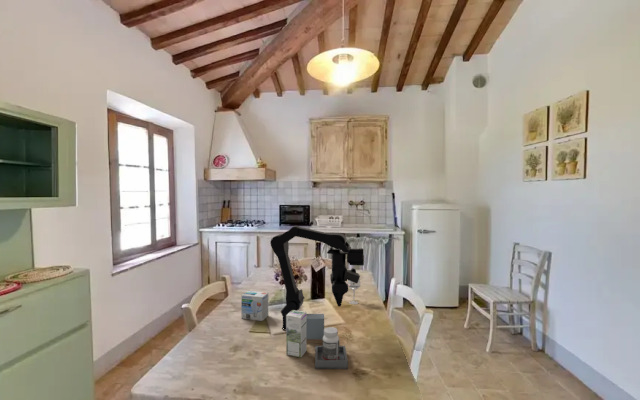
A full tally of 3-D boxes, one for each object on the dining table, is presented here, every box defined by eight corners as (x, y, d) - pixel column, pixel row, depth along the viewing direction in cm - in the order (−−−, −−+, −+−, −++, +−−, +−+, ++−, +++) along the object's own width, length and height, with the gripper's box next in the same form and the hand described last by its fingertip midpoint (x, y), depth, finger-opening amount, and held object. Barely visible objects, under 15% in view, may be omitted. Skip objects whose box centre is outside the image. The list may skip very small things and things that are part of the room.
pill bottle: (329, 352, 117) (329, 325, 116) (342, 358, 113) (342, 329, 113) (318, 359, 112) (319, 330, 112) (332, 364, 109) (332, 335, 108)
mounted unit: (299, 343, 125) (299, 319, 125) (300, 335, 132) (300, 312, 132) (328, 343, 125) (328, 319, 125) (327, 335, 132) (327, 312, 132)
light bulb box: (240, 318, 149) (240, 294, 148) (248, 313, 155) (247, 290, 155) (262, 321, 146) (262, 297, 146) (269, 315, 152) (268, 292, 152)
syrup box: (307, 350, 120) (307, 311, 119) (300, 358, 114) (300, 317, 113) (292, 348, 121) (292, 309, 121) (285, 355, 116) (285, 314, 115)
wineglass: (359, 305, 166) (360, 281, 165) (346, 304, 167) (346, 280, 167) (361, 300, 172) (361, 278, 172) (348, 299, 174) (348, 277, 173)
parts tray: (315, 368, 107) (315, 361, 107) (315, 352, 118) (315, 345, 118) (347, 368, 108) (347, 361, 107) (345, 352, 118) (345, 345, 118)
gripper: (361, 270, 126) (361, 310, 126) (355, 259, 144) (355, 294, 145) (332, 270, 125) (332, 310, 126) (330, 259, 144) (330, 295, 145)
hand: (338, 302), depth 135 cm, fingers open, 9 cm apart
